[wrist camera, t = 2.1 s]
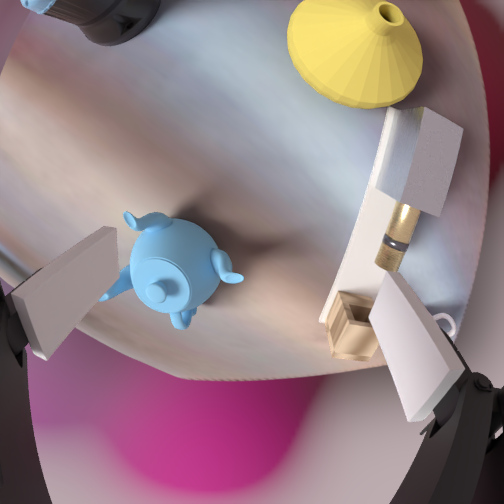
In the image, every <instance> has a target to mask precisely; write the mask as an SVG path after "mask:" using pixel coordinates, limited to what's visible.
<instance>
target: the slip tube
mask: <svg viewBox="0 0 504 504" xmlns="http://www.w3.org/2000/svg"><path fill="white" fill-rule="evenodd" d="M420 213H421V210H418V209H416V208H413V207H410V206H408V205H405V204H402V203H400V202H398V201H396V203H395V206H394V209H393V212H392V215H391V218H390V221H389V224H388V227H387V229H386V232H385V234H384V237H383V239H382V243H381V245H380V248H379V251H378V253H377V256H376V258H375V261H374V262H375V264H376V265H377V266H379V267H380V268H382V269H384V270H386V271H392V272H397V271H398V269H399V267H400V264H401V262H402V260H403V257H404V255H405V252H406V251H407V248H408V246H409V242H410V240H411V237H412V235H413V232H414V229H415V227H416V224H417V221H418V218H419V216H420Z"/></svg>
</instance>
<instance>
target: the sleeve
mask: <svg viewBox="0 0 504 504" xmlns="http://www.w3.org/2000/svg"><path fill="white" fill-rule="evenodd" d="M462 134H463V128H461V127H460V126H458V125H456V124H455V123H453V122H451V121H450V120H448V119H446V118H445V117H443V116H441V115H439V114H437V113H436V112H434V111H432V110H430V109H428V108H426V107H417V108H409V109H402V110H395V112H394V117H393V121H392V126H391V130H390V134H389V138H388V142H387V146H386V150H385V154H384V157H383V161H382V165H381V168H380V172H379V175H378V179H377V182H376V185H375V188H376V189H378V190H380V191H381V192H383V193H385V194H387V195H388V196H390V197H391V198H393V199H395V200H396V201H398V202H400V203H402V204H405V205H408V206H410V207H413V208H416V209H418V210H421V211H424V212H426V213H429V214H431V215H434V216H436V217H440V214H441V211H442V208H443V205H444V202H445V199H446V196H447V193H448V189H449V186H450V183H451V179H452V176H453V172H454V168H455V164H456V160H457V156H458V152H459V148H460V143H461V139H462Z"/></svg>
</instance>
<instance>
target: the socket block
mask: <svg viewBox="0 0 504 504" xmlns="http://www.w3.org/2000/svg"><path fill="white" fill-rule="evenodd" d="M373 305H374V301H373V299H372V297H367V296H362V295H357V294H352V293H348V292H343V291H338V292H337V294H336V297H335V299H334V301H333V304H332V306H331V308H330V311H329V313H328V315H327V317H326V320H325V327H326V331H327V336H328V340H329V345H330V350H331V355H332V358H340V359H348V360H357V361H366V362H368V361H369V360H370V358H371V357H372V355H373V354H374V352H375V350H376V349H377V347H378V345H379V341H378V339H377V336H376V334H375V332H374V329H373V327H372V325H371V322H370V320H369V318H368V317H369V315H370V312H371V310H372V307H373Z"/></svg>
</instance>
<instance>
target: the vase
mask: <svg viewBox="0 0 504 504" xmlns="http://www.w3.org/2000/svg"><path fill="white" fill-rule="evenodd" d="M287 41H288V51H289V54H290V56H291V59H292V62H293V64H294V66H295V68H296V69H297V71H298V72H299V73H300V75H301V76H302V78H303V79H304V80H305V81H306V82H307V83H308V84H309V85H310V86H311V87H312V88H314V89H315V90H316V91H317V92H318V93H320V94H321V95H323V96H325V97H327V98H328V99H330V100H332V101H333V102H336V103H339V104H342V105H345V106H348V107H351V108H361V109H372V108H379V107H385V106H390V105H392V104H394V103H397V102H399V101H401V100H403V99H404V98H405V97H406V96H407V95H408V94H409V93H410V92H411V91H412V90H413V89H414V87H415V85H416V83H417V81H418V79H419V77H420V75H421V71H422V64H423V56H422V49H421V44H420V42H419V39H418V37H417V35H416V32H415V30H414V29H413V27H412V26H411V25H410V23H409V22H408V20H407V19H406V18H405V16H403V14H402V12H401V11H400V9H399V8H398V7H397V6H395V5H394V4H392V3H389V2H387V1H385V0H304V1H303V2H301V3H300V4H299V5H298V6H297V8H296V9H295V11H294V12H293V14H292V15H291V18H290V22H289V25H288V29H287Z"/></svg>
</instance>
